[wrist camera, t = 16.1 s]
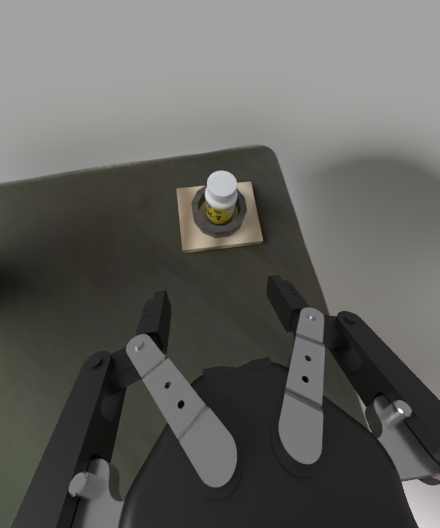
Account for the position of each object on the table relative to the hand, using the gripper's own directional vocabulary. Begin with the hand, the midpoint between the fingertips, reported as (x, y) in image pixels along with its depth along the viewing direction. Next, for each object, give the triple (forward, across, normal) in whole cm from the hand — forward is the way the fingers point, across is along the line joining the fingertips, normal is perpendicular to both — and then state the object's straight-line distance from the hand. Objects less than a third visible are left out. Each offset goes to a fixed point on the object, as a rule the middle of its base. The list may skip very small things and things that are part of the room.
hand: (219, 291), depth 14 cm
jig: (+22, -3, +1) cm, 22 cm away
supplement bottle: (+20, -3, 0) cm, 21 cm away
